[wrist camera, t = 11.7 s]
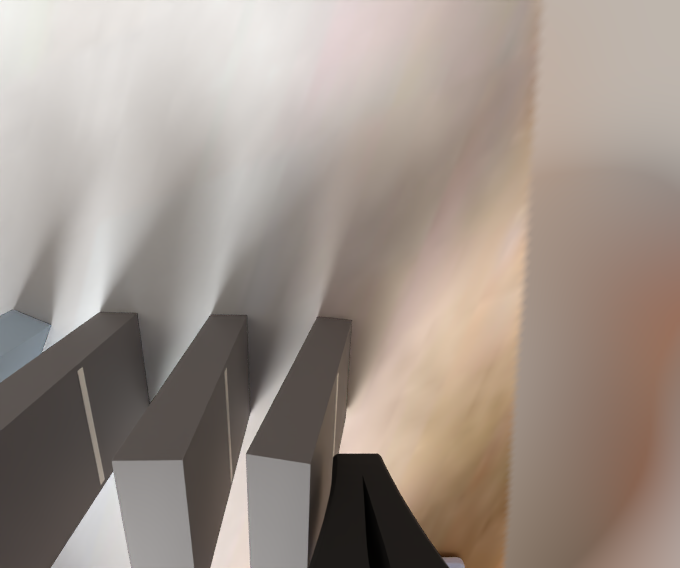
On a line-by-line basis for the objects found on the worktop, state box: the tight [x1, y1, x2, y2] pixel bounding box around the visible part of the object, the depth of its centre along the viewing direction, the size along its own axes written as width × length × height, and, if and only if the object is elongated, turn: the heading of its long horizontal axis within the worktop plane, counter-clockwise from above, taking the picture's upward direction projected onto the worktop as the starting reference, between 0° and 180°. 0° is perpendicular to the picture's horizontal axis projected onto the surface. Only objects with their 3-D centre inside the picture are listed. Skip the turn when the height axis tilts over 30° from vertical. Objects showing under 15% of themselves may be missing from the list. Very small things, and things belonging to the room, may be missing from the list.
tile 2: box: [112, 315, 250, 568], centre depth 13 cm, size 2×5×8 cm, turn 177°
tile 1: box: [246, 317, 352, 568], centre depth 13 cm, size 2×5×8 cm, turn 177°
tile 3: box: [0, 312, 150, 568], centre depth 12 cm, size 2×5×8 cm, turn 177°
